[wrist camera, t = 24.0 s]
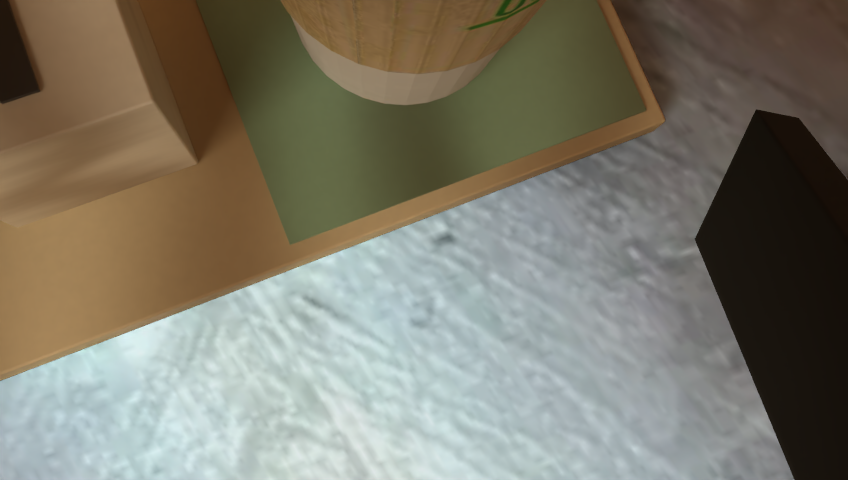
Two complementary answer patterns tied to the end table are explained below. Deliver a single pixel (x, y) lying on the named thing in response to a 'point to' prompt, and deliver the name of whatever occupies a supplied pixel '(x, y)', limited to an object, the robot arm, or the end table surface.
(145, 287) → the word board
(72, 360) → the end table surface
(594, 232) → the end table surface
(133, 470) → the end table surface
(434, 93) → the coffee cup
